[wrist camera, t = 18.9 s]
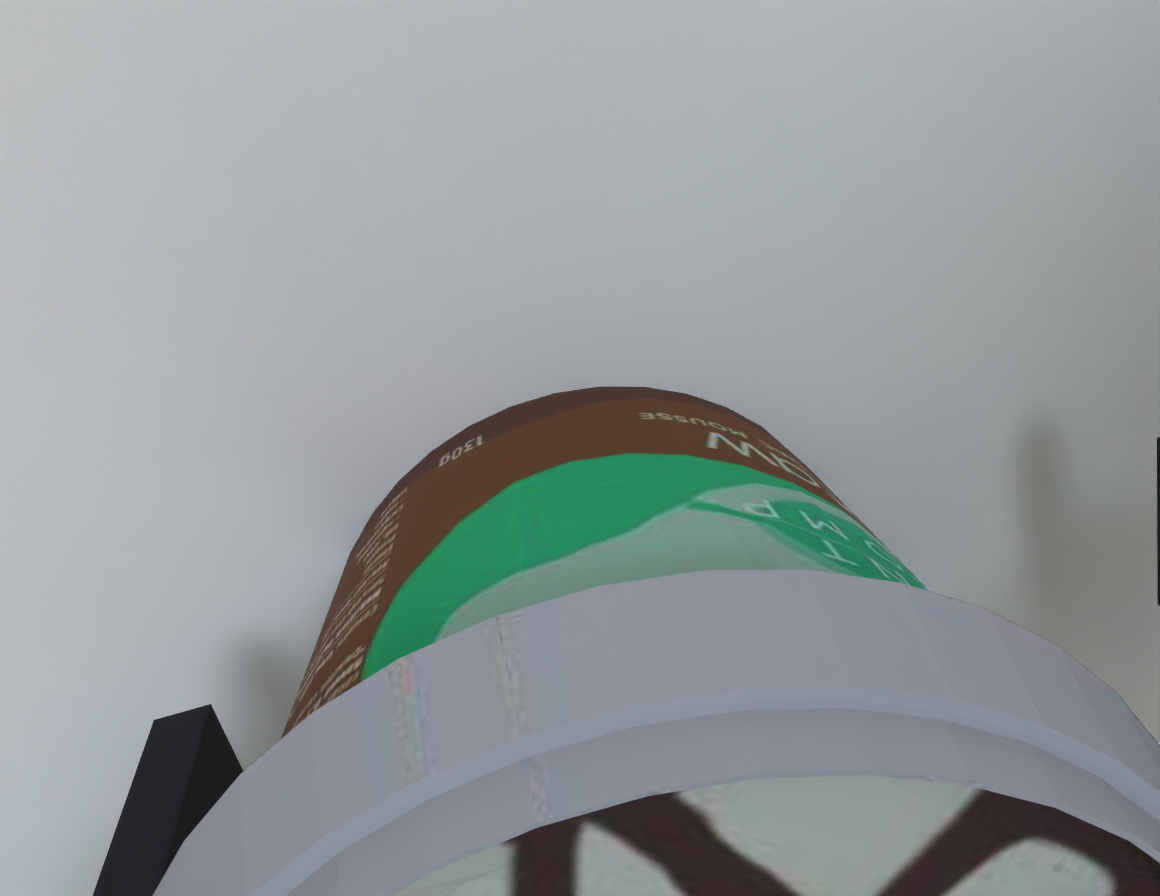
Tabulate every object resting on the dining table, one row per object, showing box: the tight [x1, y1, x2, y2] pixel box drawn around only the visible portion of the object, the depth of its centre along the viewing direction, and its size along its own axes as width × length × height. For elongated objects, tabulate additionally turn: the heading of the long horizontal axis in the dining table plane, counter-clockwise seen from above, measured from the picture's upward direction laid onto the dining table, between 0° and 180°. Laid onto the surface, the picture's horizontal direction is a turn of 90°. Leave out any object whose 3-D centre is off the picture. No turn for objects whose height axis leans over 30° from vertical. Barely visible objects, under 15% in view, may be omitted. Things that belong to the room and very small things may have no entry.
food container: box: [153, 387, 1160, 896], centre depth 14 cm, size 12×6×10 cm, turn 64°
